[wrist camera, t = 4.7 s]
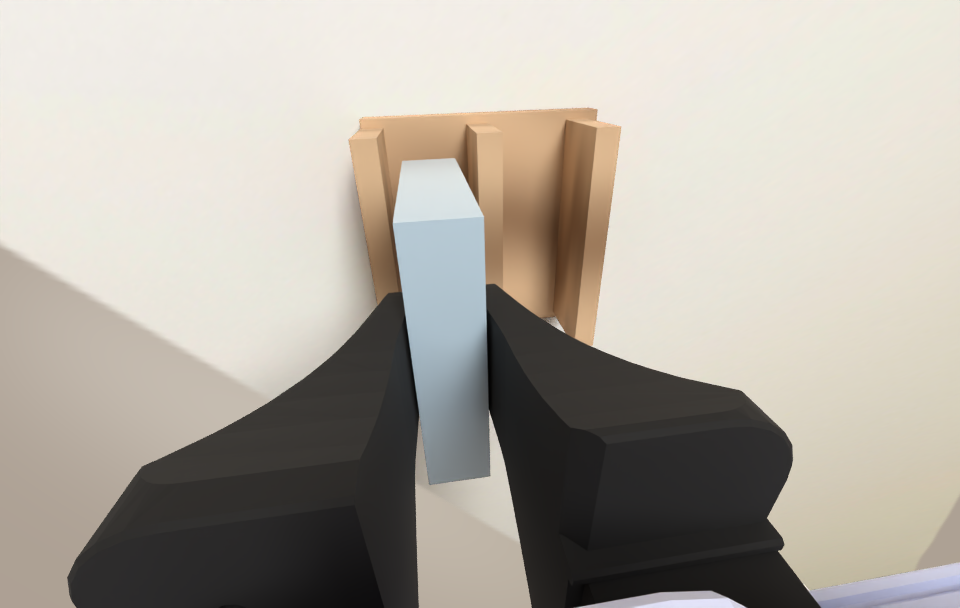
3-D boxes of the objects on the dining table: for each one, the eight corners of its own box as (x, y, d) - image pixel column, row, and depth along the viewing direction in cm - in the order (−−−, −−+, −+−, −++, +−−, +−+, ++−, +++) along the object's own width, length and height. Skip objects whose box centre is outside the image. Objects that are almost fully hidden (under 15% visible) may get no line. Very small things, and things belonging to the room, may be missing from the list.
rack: (569, 304, 20) (600, 350, 17) (394, 321, 20) (389, 373, 16) (587, 107, 16) (634, 115, 13) (362, 117, 15) (346, 128, 12)
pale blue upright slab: (465, 345, 16) (490, 476, 11) (424, 349, 16) (429, 484, 10) (455, 158, 12) (483, 216, 7) (402, 161, 12) (392, 222, 7)
